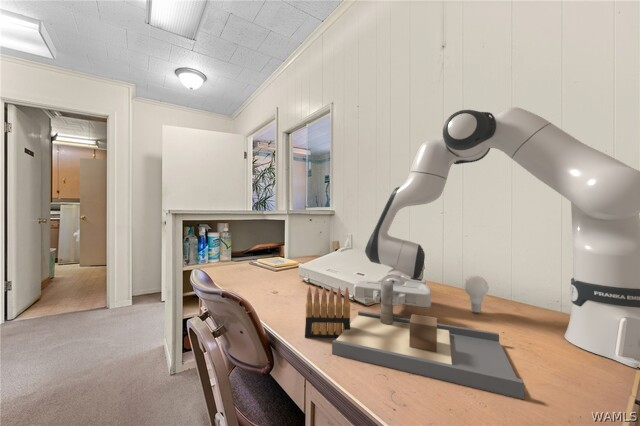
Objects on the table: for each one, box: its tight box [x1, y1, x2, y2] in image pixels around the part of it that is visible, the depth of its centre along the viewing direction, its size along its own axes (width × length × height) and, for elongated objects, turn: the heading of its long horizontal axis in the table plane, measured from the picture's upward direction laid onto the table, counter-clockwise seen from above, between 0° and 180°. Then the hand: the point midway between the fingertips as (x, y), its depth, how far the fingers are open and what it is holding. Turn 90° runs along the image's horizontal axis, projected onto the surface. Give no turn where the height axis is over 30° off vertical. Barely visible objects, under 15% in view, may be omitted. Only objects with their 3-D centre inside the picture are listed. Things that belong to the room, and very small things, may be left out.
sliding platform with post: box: [335, 281, 452, 365], centre depth 59 cm, size 22×16×11 cm
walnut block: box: [409, 313, 438, 353], centre depth 55 cm, size 5×5×5 cm
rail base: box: [331, 310, 525, 400], centre depth 57 cm, size 32×20×2 cm, turn 66°
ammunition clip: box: [304, 286, 351, 339], centre depth 62 cm, size 11×2×12 cm, turn 89°
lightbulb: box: [463, 275, 490, 314], centre depth 79 cm, size 6×6×11 cm
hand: (386, 301), depth 65 cm, fingers closed on sliding platform with post, 3 cm apart
